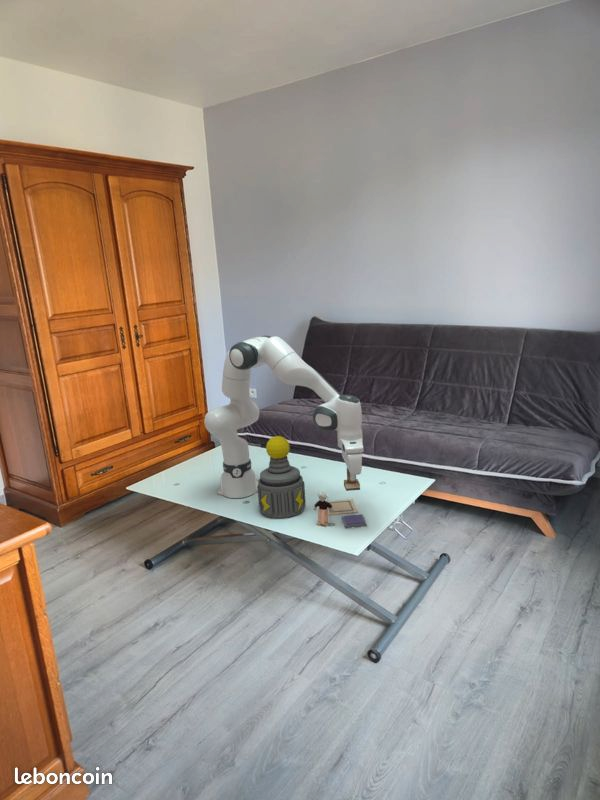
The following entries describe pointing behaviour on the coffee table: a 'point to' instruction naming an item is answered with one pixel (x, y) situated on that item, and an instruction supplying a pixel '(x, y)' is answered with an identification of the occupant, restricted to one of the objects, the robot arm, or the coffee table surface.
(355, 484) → the stamp
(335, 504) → the card sheet
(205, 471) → the coffee table surface
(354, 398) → the robot arm
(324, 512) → the grandmother figurine
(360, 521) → the ink pad
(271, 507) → the grey toy tesla coil
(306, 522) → the coffee table surface
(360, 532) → the coffee table surface
